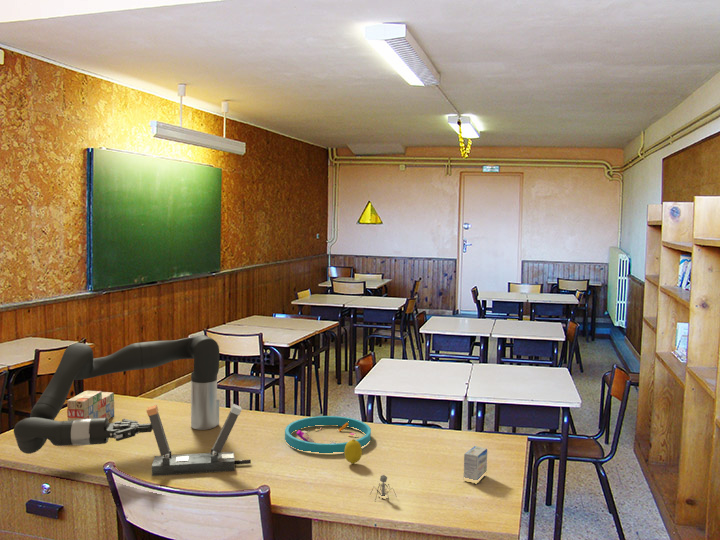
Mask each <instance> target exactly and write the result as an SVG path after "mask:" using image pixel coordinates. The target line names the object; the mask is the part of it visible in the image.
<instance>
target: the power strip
mask: <svg viewBox="0 0 720 540" xmlns="http://www.w3.org/2000/svg"><path fill="white" fill-rule="evenodd" d="M210 450H211V451H210V452H203V453H186V454H172V450H170V452H169V454H170V455H169V458H165V455H163V456H161V455H154V456H153V460H152V464H151V477H159V476H173V475H175V476H177V475H189V474H190V475H191V474H206V473H209V474H210V473H221V472H235V471H236V470H235V465H236V466H237V465H249V464H251V463H252V462H251V459H238V460H235V451H221V453H218V452H216V455H212V453H213V447H211V449H210Z"/></svg>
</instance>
